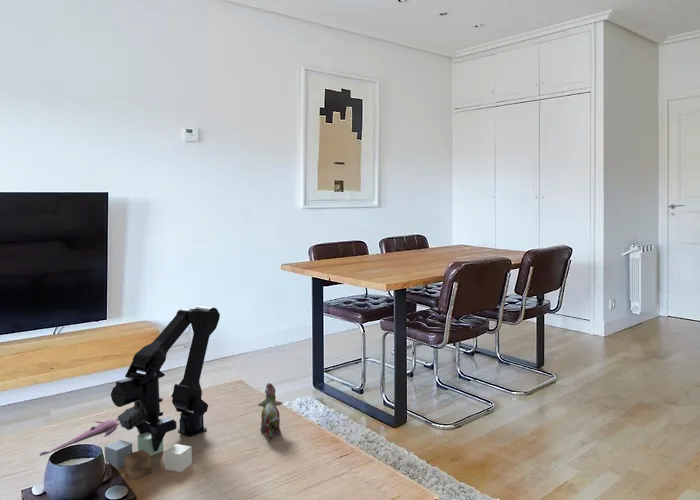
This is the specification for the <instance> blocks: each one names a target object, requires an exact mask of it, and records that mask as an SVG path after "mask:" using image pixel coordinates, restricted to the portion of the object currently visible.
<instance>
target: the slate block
mask: <svg viewBox="0 0 700 500" xmlns="http://www.w3.org/2000/svg"><path fill="white" fill-rule="evenodd" d="M130 453H133V443H132V442H128V441H125V440H124V439H118V440H116V441H113V442H112V443H109V444H108V445H105V446H104V462H105V461H106V462H108V463H112V464H113V465H114V466H115V467H114V468H116V467H117V469H118V468H121V467H122V466H125V460H124V455H127V454H130Z"/></svg>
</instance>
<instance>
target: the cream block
mask: <svg viewBox="0 0 700 500" xmlns="http://www.w3.org/2000/svg"><path fill="white" fill-rule="evenodd" d="M163 452H164V455H163V456H164V469H165V470H166V471H167V470H168V471H173V472H178V473H181V472H183V471H184V470H185V469H187V468H188V467H190V466H192V464H193V456H192V454H193V453H192V452H193V450H192V446H191V445H184V444H178V443H175V444H174V445H172V446H171V447H169V448H167V449H166V450H163Z"/></svg>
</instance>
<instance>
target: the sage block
mask: <svg viewBox="0 0 700 500" xmlns="http://www.w3.org/2000/svg"><path fill="white" fill-rule="evenodd" d="M140 450H144V451H145V452H147V453H148V454H149V455H150V456H151V457H152V456H155V455H157V454H159V453H162V452H164V439H163V440H162V442H161V444H160V446H159V449H158V450H157V451H154V450H153V445H152V438H151V435H150V434H149V433H148V432H146V433H143V434H137V451H140Z"/></svg>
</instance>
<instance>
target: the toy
mask: <svg viewBox="0 0 700 500" xmlns="http://www.w3.org/2000/svg"><path fill="white" fill-rule="evenodd" d="M118 421H119V420H118V418H117V419H109V420H108V419H107V420H105V421H95V423H97V425H96V426H92V427H91V428H90V429H88V430H87V431H85V432H83V433H82V434H80V435H78V436H75V437H74V438H71V439H70V440H68V441H66V442H64V443H62V444H60V445H59V446H57V447H55V448H53V449H51V450H50V451H43V452H40V454H39V456H40V457H41V456H44V455H47V454H51V453H52V452H55V451H57V450H59V449H62V448H64V447H67V446H69V445H72V444H74V443H76V442H79V441H82V440H83V439H86V438H89V437H91V436H93V435H96V434H99V433H103V432H106V431H107V432H106V433H105V434H104V436H103V437H104V438H105V437H107V436H109V435H111V434H112V433H113V432H114V431H115V430H116V428H117V426H118Z"/></svg>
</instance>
